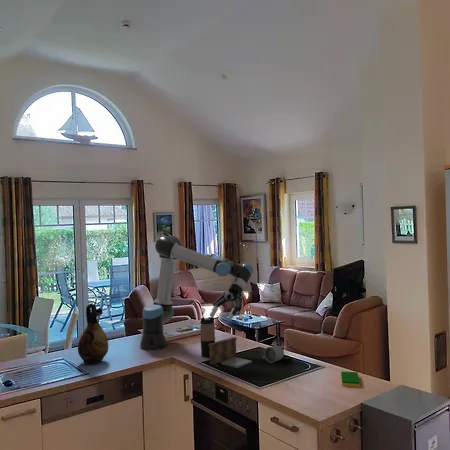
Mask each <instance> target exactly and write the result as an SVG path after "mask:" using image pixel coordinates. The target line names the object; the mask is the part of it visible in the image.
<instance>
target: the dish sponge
mask: <svg viewBox="0 0 450 450" xmlns="http://www.w3.org/2000/svg"><path fill="white" fill-rule="evenodd" d="M340 374H341V375H340V377H341V386H342V387H349V388H350V387H352V388H360V386H361V385H360V379H359V378H360V377H359V373H358V372H357V371H341V373H340Z"/></svg>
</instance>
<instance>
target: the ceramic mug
mask: <svg viewBox="0 0 450 450" xmlns="http://www.w3.org/2000/svg"><path fill="white" fill-rule="evenodd" d="M284 356H285V352H284V349H283V347H281V346H280V345H273V346H272V345H271V346H268V347H266V348H265V349H264V352H263V356H262V360H265V361H266V362H268V363H271V364H273V363H275V362H278V361H281V360H282V359H283V358H284Z"/></svg>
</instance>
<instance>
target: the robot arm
mask: <svg viewBox="0 0 450 450" xmlns="http://www.w3.org/2000/svg"><path fill="white" fill-rule="evenodd" d="M154 245H155V247H154V248H155V250H156V253H158V255H159V259H160V269H159V277H158V285H157V290H156V291H157V293H156V298H155V299H154V300H153V304H150V305H145V307H143V309H142V336H141V340H140V345H139V346H140V347H139V348H140V349H141V350H145V351H153V350H161V349H164V348H166V347H167V345H168V344H167V340H166V336H165V333H164V324H166V323H168V322H170V321H171V320H172V318H173V317H174V313H175V311H174V308H173V304H174V303H173V301H172V300H171V298H172V291H173V282H174V275H175V265H176V262H177V260H179V261H183V262H184V263H188V264H191V265H192V266H197V267H199V268H201V269H205V270H207V271H209V272H213V273H214V274H217V275H218V276H220V277H226V276H228V275H230V276H232V277H234V279H233V281H232V282H231V284H230V286H229V288H228V291H227V292H225V291H224V292H222V293H221V295H219V296H218V297H217V298H216V300H214V301H213V302H212V305H213V307H212V308H211V311H210V312H209V317H213V318H215V315H216V314H217V312H218V310H219V307H222V305H224V304H225V303H227V302H232V303H233V306H234V307H232V309H231V311H230V312H229V314H228V317H227V319H228V320H229V321H232V320H233V318H234V316H235V315H236V314H237V312H238V311H239V310H240V311H242V309H243V307H242V306H243V298H244V295H243V294H242V293H243V290H244V289H245V287H246V286H247V284H248V282H249V281H250V278H251V277H252V274H253V272H254V268H253V266H252V265H251V264H248V263H243V264H242V265H241V264H238V263H236V262H235V261H232V260H230V259H227V258H225V257H223V258H222V259H221V260H220V259H218V258H214V257H211V256H209V255H206V254H205V253H204V254H203V253H201V252H198V251H196V250H193V249H190V248H187V247H184V246H183V244H182V241H181V239H180V238H179V237H177V236H176V235H175V236H174V235H164V236H163V235H162V236H161V237H159V238H158V239H157V240H156V241H155V244H154Z"/></svg>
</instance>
